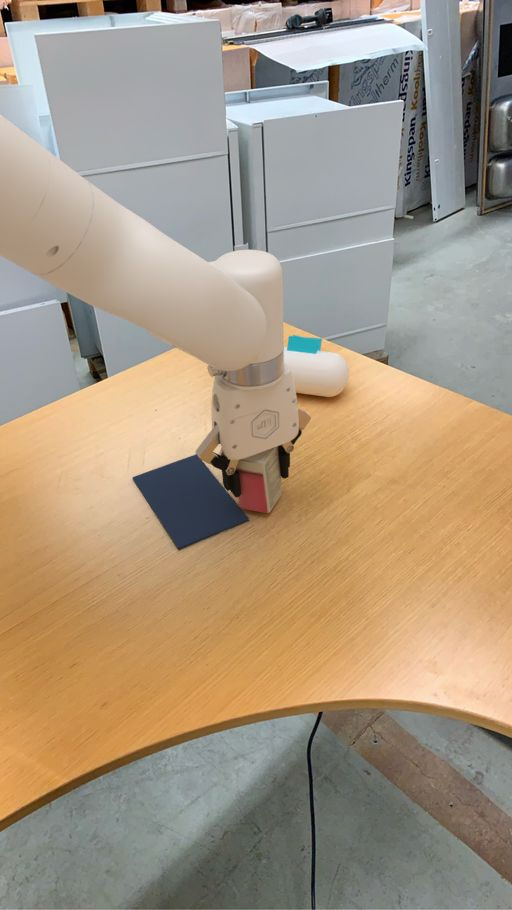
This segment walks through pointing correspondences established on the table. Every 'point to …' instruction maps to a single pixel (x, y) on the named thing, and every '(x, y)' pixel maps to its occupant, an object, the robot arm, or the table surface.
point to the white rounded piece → (315, 367)
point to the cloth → (189, 501)
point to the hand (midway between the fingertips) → (257, 480)
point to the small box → (260, 481)
